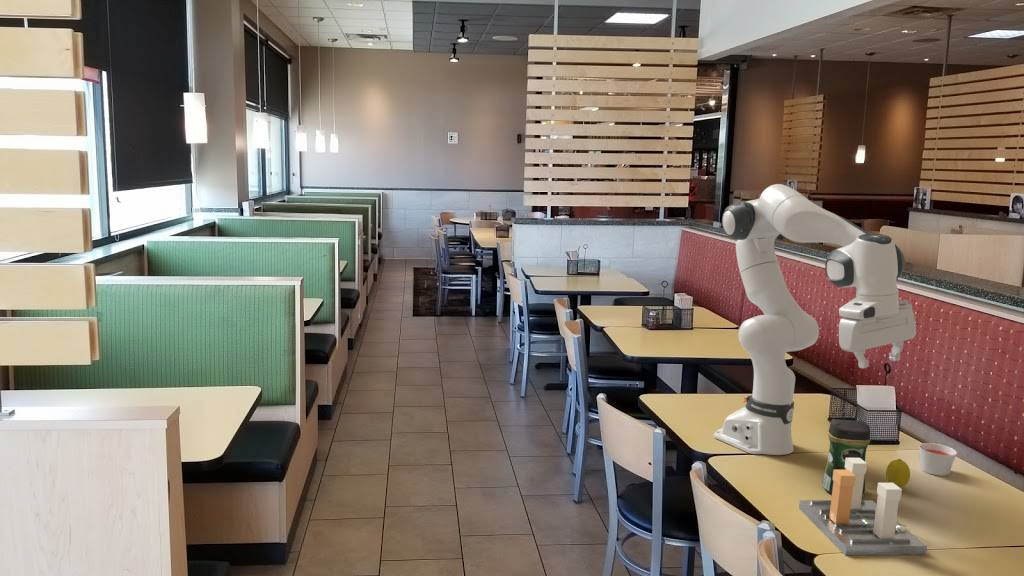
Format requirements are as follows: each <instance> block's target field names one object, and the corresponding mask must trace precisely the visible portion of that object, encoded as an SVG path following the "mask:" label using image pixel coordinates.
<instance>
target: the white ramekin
mask: <svg viewBox="0 0 1024 576" xmlns="http://www.w3.org/2000/svg"><path fill="white" fill-rule="evenodd" d="M918 448H919V449H918V450H919V452H918V453H919V465H920V469H921V471H923V472H925V474H926V473H927V474H929V475H933V476H938V477H942V476H943V477H944V476H948V475H949V474H950V473H951V469H952V467H953V464H954V462H955V459H956V457H957V450H955V449H954V448H952V447H950V446H947V445H944V444H939V443H935V442H933V443H932V442H923V443H922V442H921V443H920V444H919V445H918Z"/></svg>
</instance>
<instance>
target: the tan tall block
mask: <svg viewBox="0 0 1024 576" xmlns="http://www.w3.org/2000/svg"><path fill="white" fill-rule="evenodd" d="M855 479H856V476H855V475H854V474H853V473H852V472H850V471H849V470H833V479H832V480H833V490H832V494H831V498H830V500H831V507H830V515H829V518H830V519H831V520H832V521H833V522H834V523H849V516H850V508H851V500H852V492H853V486H855Z"/></svg>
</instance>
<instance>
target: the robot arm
mask: <svg viewBox="0 0 1024 576" xmlns="http://www.w3.org/2000/svg"><path fill="white" fill-rule="evenodd" d="M721 216H722V217H721V225H722V229H723V232H724V233H725V235H726V236H727V238H729V239H732V240H735V241H736V242H735V254H736V260H737V261H736V262H737V266H738V270H739V273H740V278H741V281H742V284H743V287H744V290H745V294H746V297H747V298H748V301H750V303H752V304H753V305H755V306H757V307H758V308H759V309H760V310H761V312H762V313H763V314H760V315H757V316H753V317H751V318H748V319H746V320H744V321H743V322H742V323H741V324H740V327H739V329H738V340H739V343H740V345H741V347H742V348H743V349H744V350H745V351H746V352H747V353H748V354H749V357H750V360H751V362H752V367H753V385H752V394H751V395H747V396H746V397H744V398H743V401H742V403H746V405H745V406H743V407H742V408H739V409H738V410H736V411H734V412H732V413H730V414H729V415H728V416H726V417H725V419H724V422H723V425H722V427H721V428H718V429H717V430H716V431H715V432H714V434H713V438H714V439H717V440H719V441H721V442H724V443H726V444H728V445H730V446H732V447H733V448H734V447H735V448H737V449H740V450H742V451H744V452H746V453H749V454H752V455H770V456H783V455H785V456H786V455H789V454H792V453H793V452H794V450H795V448H794V445H793V437H792V422H793V418H794V412H795V411H794V409H795V408H794V407H795V401H794V392H795V384H796V376H795V373H794V372H793V370H791V368H790V367H788V366H787V364H786V363H787V362H786V358H785V356H786V353H787V352H797V351H802V350H804V349H807V348H810V347H811V346H813V345H815V344H816V343H817V341H818V339H819V335H820V329H819V328H820V327H819V324H818V322H817V320H816V319H815V318H814V317H813V316H812V315H810V314H809V313H807V312H806V311H805V310H803V308H801V306H800V305H799V304H798V303H797V301H796V300H795V298H794V297H793V295H792V293H791V292H790V289H789V288H788V286H787V284H786V280H785V278H784V275H783V272H782V269H781V266H780V263H779V259H778V256H777V255H776V250H775V241H776V239H778V240H780V241H783V240H785V239H788V240H790V241H792V242H794V243H795V242H796V243H803V244H804V243H826V244H834V245H838V246H840V247H838V248H836V249H833V250H832V251H831V252H829V254H827V257H826V260H825V265H824V270H825V275H826V277H827V280H828V281H829V282H830V283H831V284H832V285H834V286H835V287H838V288H843V289H844V288H854V287H855V288H856V290H855V292H856V293H855V297H853V298H852V299H851V300H850V301H849V302H846V304H844V305H843V306H841V307H839V309H838V315H839V316H840V317H842V318H841V319H840V321H839V324H838V342H839V344H838V345H839V347H840V348H841V349H842V351H845V352H848V353H853V354H854V356H855V358H856V360H857V361H858V363H857V366H858V368H860V369H866V368H869V367H870V359H867V358H866V357H865V355H866V350H868V349H873V348H878V347H883V346H887V345H892V350H891V352H890V351H889V353H888V355H889V357H888V358H889V361H892V362H897V361H900V360H901V356H900V355H901V352H902V350H903V347H904V343H905V342H904V341H909V340H913V339H915V337H916V335H917V325H916V318H915V313H914V311H913V305H912V303H911V302H910V301H908V299H901V300H900V296H899V288H898V285H897V280H898V279H899V278H900V277H901V275H902V274H903V271H904V269H905V265H906V264H905V263H906V259H905V255H904V253H903V252H902V250H901V249H900V247H899V246H898V245H897V244H896V243H895V242H894V240H893V238H892V237H890V236H889V235H886V234H883V233H873V232H872V233H870V232H868V231H866V230H865V229H863V228H862V227H860V226H858V225H857V224H855V223H854V222H852V221H850V220H849V219H846V218H845V217H843V216H840V215H838V214H836V213H834V212H831V211H830V210H829V211H828V210H826V209H825V208H823V207H821V206H819V205H817V204H815V203H814V202H812V201H811V200H809V199H808V198H807V197H805V196H804V195H803V194H802V193H800V192H799V191H797V190H795V189H794V188H792V187H790V186H787V185H785V184H783V183H782V184H781V183H775V184H772V185H769V186H768V187H766V188H765V189H764V190H763V191H762V193H761V194H760V197H759V198H756V199H751V200H746V201H737V202H735V203H732V204H730V205H728V206H727V207H725V209H724V211H723V213H722V215H721Z"/></svg>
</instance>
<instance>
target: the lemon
mask: <svg viewBox="0 0 1024 576" xmlns="http://www.w3.org/2000/svg"><path fill="white" fill-rule="evenodd" d="M910 477H911V469H910V467H909V465H908V463H907V462H906V461H904V460H902V459H901V458H898V459H894V460H891V461H890V462H889V463H888V465H887V466H886V470H885V478H886V481H887V483H894V484H895V485H897V486H898V487H899V488H903V487H905V486H906V485H907V484H908V483H909V481H910Z"/></svg>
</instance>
